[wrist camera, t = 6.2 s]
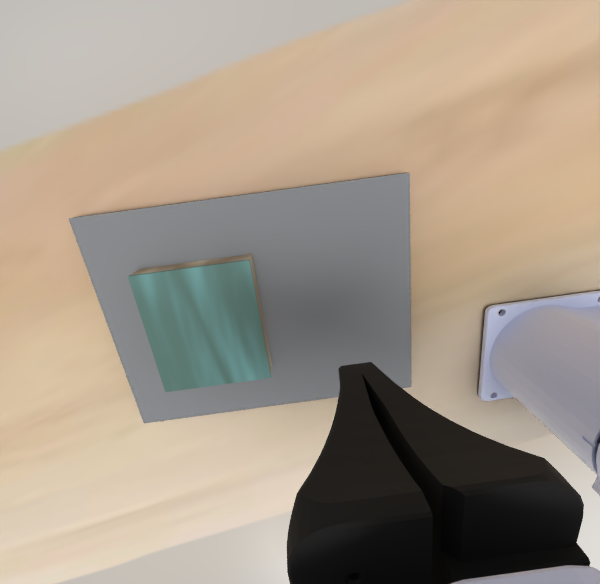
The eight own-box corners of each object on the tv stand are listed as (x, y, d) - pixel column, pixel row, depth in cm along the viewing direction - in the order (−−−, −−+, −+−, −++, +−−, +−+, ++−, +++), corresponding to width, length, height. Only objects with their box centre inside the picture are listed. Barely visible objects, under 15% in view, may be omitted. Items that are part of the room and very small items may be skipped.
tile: (249, 259, 18) (127, 276, 18) (271, 377, 21) (165, 392, 21) (252, 253, 20) (139, 269, 20) (272, 364, 22) (173, 377, 22)
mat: (405, 172, 19) (409, 172, 18) (408, 381, 24) (411, 386, 23) (75, 217, 19) (68, 218, 18) (147, 417, 24) (144, 423, 23)
